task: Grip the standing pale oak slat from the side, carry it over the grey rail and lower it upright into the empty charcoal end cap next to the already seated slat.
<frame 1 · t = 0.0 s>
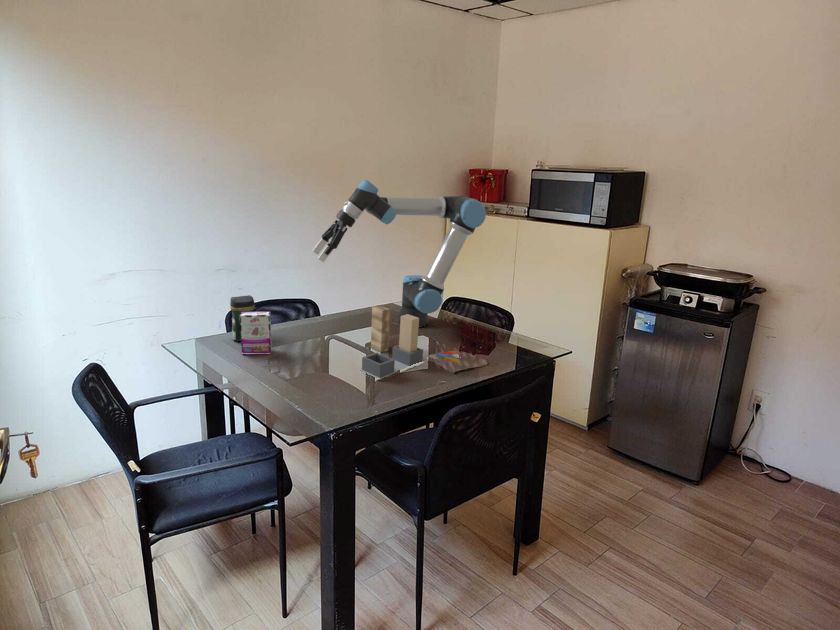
hand: (317, 256, 225), 36 cm above the table, tool tilted 35°, fingers open, 13 cm apart
oak slat: (379, 349, 230), on the table
candy bar box: (256, 353, 219), on the table
coffee jar: (243, 339, 232), on the table
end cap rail: (392, 367, 213), on the table
wooden puzzle: (457, 363, 223), on the table
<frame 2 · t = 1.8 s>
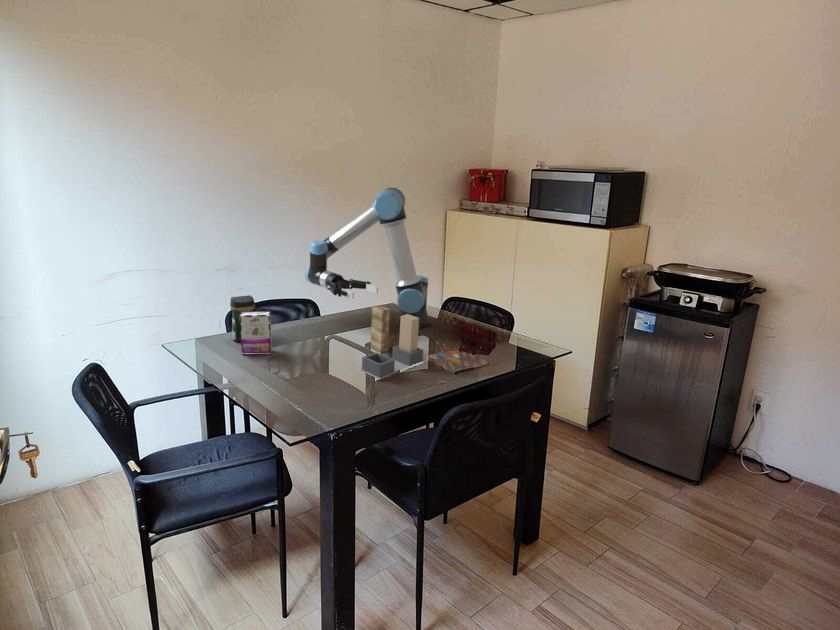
hand: (365, 293, 229), 22 cm above the table, tool horizontal, fingers open, 13 cm apart
nothing on the table moved.
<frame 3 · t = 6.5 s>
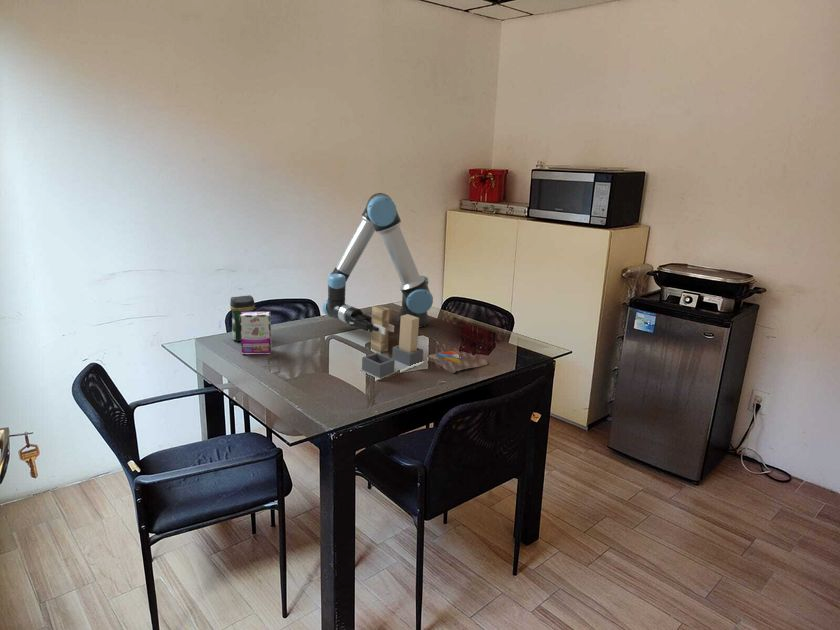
hand: (389, 330, 224), 10 cm above the table, tool horizontal, fingers closed on oak slat, 4 cm apart
oak slat: (379, 349, 230), on the table, touching gripper
everything else where it was.
when the fingers open (12 cm above the table, at t = 14.2 s): oak slat drops 1 cm, resting on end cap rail.
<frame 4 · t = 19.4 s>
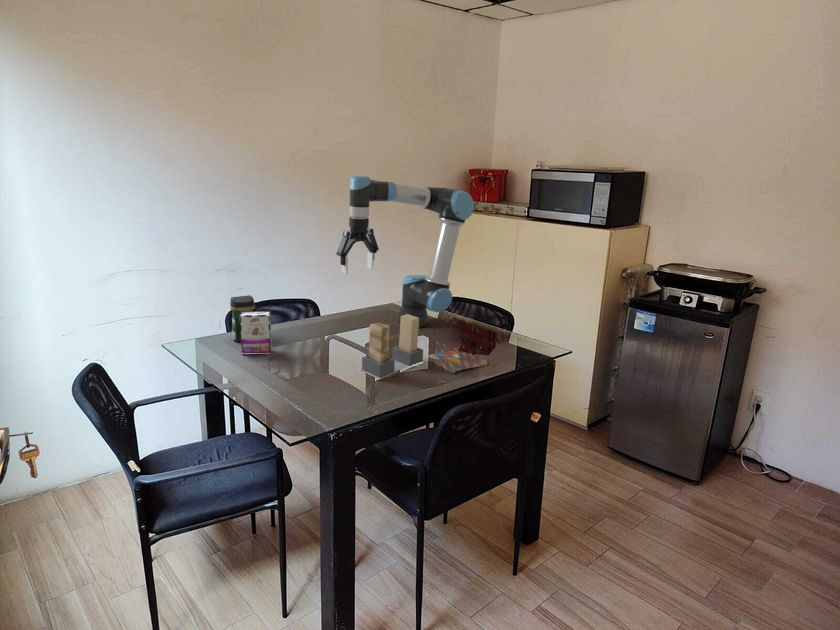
hand: (357, 270, 220), 33 cm above the table, tool pointing down, fingers open, 13 cm apart
oak slat: (377, 370, 207), point 1 cm above the table, touching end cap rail
everything else where it was.
at the end: oak slat 0.1 cm from the target spot on the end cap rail, point 1.0 cm above the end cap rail's base; oak slat tilted 0°; the gripper is holding nothing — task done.
